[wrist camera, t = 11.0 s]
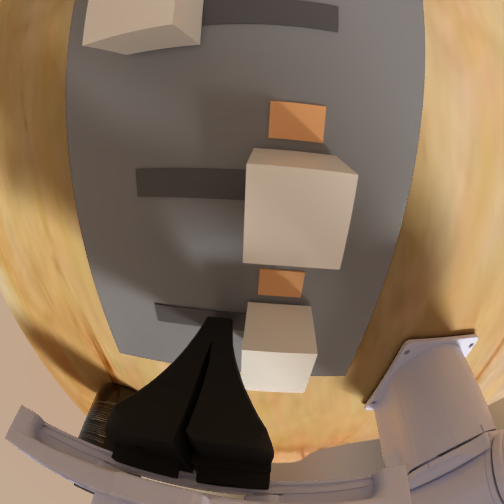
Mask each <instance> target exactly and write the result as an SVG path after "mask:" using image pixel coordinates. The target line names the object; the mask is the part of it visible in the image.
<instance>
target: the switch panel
mask: <svg viewBox="0 0 504 504" xmlns="http://www.w3.org/2000/svg"><path fill="white" fill-rule="evenodd" d="M87 6H88V0H75V3H74V9H73V15H72V21H71V28H70V36H69V45H68V56H67V73H66V121H67V139H68V151H69V161H70V170H71V177H72V184H73V191H74V197H75V203H76V209H77V214H78V219H79V224H80V229H81V233H82V238H83V242H84V246H85V250H86V254H87V258H88V262H89V265H90V269H91V273H92V276H93V279H94V283H95V286H96V289H97V292H98V296H99V299H100V302H101V305H102V308H103V310H104V313H105V316H106V319H107V322H108V324H109V327H110V330H111V332H112V335H113V337H114V340H115V342H116V345H117V347H118V350H119V352H120V353H124V354H128V355H132V356H137V357H142V358H147V359H152V360H157V361H162V362H168V363H173V362H174V361H175V359H176V358H177V357H178V356H179V355H180V354H181V353H182V352H183V350H184V349H185V348H186V347H187V346H188V344H189V343H190V342H191V340H192V339H193V338H194V336H195V335H196V334H197V332H198V331H199V329H200V328H201V326H202V325H203V323H204V321H205V320H206V318H207V317H208V316H210V317H220V318H230V319H232V320H233V348H234V353H235V358H236V362H237V366H238V369H239V372H241V359H242V344H243V337H244V329H245V321H246V313H247V306H248V302H256V303H270V304H285V305H302V306H311V309H312V316H313V323H314V330H315V337H316V345H317V353H318V354H317V357H316V360H315V363H314V366H313V369H312V372H311V375H310V376H345V375H346V373H347V371H348V369H349V367H350V365H351V363H352V360H353V358H354V356H355V354H356V352H357V349H358V347H359V345H360V343H361V340H362V338H363V336H364V333H365V331H366V329H367V326H368V324H369V321H370V319H371V316H372V314H373V311H374V308H375V306H376V303H377V300H378V298H379V295H380V292H381V289H382V287H383V284H384V281H385V278H386V275H387V272H388V269H389V266H390V263H391V259H392V256H393V253H394V250H395V246H396V243H397V239H398V236H399V232H400V228H401V225H402V221H403V217H404V213H405V209H406V204H407V200H408V196H409V191H410V186H411V181H412V176H413V171H414V166H415V160H416V154H417V148H418V141H419V134H420V126H421V117H422V107H423V95H424V78H425V26H424V10H423V0H204V2H203V13H202V25H201V39H200V45H191V46H181V47H172V48H164V49H157V50H151V51H145V52H139V53H134V54H129V55H125V54H120V53H116V52H112V51H107V50H102V49H97V48H92V47H87V46H82V43H83V33H84V25H85V18H86V12H87ZM254 148H264V149H278V150H290V151H300V152H310V153H319V154H327V155H335V156H337V157H338V158H339V159H340V160H341V161H343V162H344V163H345V164H346V165H348V166H349V167H350V168H351V169H352V170H353V171H355V172H356V173H357V174H358V182H357V188H356V194H355V199H354V205H353V210H352V215H351V221H350V226H349V230H348V235H347V240H346V245H345V249H344V254H343V258H342V262H341V266H340V270H336V269H321V268H307V267H292V266H278V265H265V264H251V263H243V241H244V213H245V187H246V164H247V161H248V159H249V157H250V155H251V153H252V151H253V149H254Z"/></svg>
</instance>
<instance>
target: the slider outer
mask: <svg viewBox="0 0 504 504" xmlns="http://www.w3.org/2000/svg"><path fill="white" fill-rule="evenodd" d="M203 2H204V0H88V6H87V12H86V18H85V25H84V33H83V43H82V46H87V47H92V48H97V49H102V50H107V51H112V52H116V53H120V54H125V55H129V54H134V53H139V52H145V51H151V50H157V49H164V48H172V47H181V46H191V45H200V39H201V25H202V13H203Z"/></svg>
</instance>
